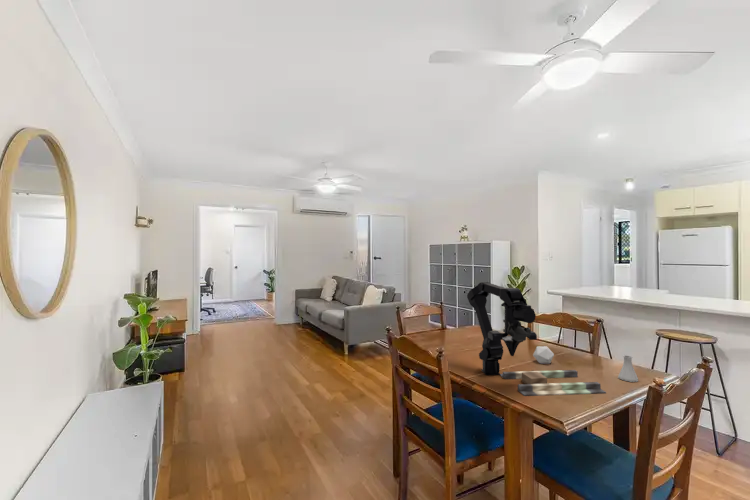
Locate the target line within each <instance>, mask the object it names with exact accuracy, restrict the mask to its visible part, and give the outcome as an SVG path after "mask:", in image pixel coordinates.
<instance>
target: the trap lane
mask: <svg viewBox="0 0 750 500" xmlns="http://www.w3.org/2000/svg"><path fill="white" fill-rule="evenodd" d="M523 372H538V373H540V374H542V375H543V376H545V377H547V379H555V378H556V379H558V378H562V379H563V378H565V379H566V378H578V371H577V370H576V369H565V370H564V369H563V370H561V369H560V370H559V369H557V370H522V371H520V370H519V371H502V373H500V375H499V376H501V378H502V379H504V380H522V373H523ZM601 387H602V386H601V383H599V382H598V381H589V382H587V381H586V382H582V381H581V382H553V383H550V382H547V383H546V384H525V383H523V384H522V383H519V384H517V391H518V392H519V393H520V394H521V395H522V396H525V397H527V396H528V397H531V396H532V397H535V396H561V395H565V396H566V395H591V394H593V395H594V394H596V395H597V394H606V393H607V391H605V390H603V389H602V388H601Z"/></svg>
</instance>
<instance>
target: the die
mask: <svg viewBox="0 0 750 500" xmlns="http://www.w3.org/2000/svg"><path fill="white" fill-rule="evenodd" d="M532 356H533V358H535V360H536V361H537V362H538V363H539V365H540V364H545V365H546V364H549V365H551V362H552V360H553V358H554V356H555V353H554V352H553V351H552V350H551V349H550V348H549V347H548V346H547V345H546V346H545V345H542V346H537V345H536V348H535V349H534V352H533V353H532Z"/></svg>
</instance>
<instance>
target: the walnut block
mask: <svg viewBox="0 0 750 500" xmlns="http://www.w3.org/2000/svg"><path fill="white" fill-rule="evenodd" d="M521 382H522V383H523V384H546V383H548V378H547V377H545V376H543V375H542V374H540V373H538V372H523V373H522V379H521Z"/></svg>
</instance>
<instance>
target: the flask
mask: <svg viewBox="0 0 750 500" xmlns="http://www.w3.org/2000/svg"><path fill="white" fill-rule="evenodd" d="M622 357H623V364H622V367H621V369H620V371H619V373H618V376H617V379H620V380H622V381H626V382H630V383H634V382H635V383H637V382H639V378H638V375H637V373H636V371H635V369H634V366H633V361H632V360H633V356H632V355H627V354H626V355H625V354H624V355H622Z"/></svg>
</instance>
